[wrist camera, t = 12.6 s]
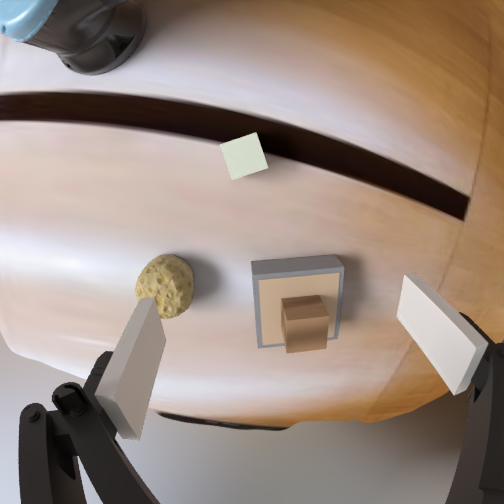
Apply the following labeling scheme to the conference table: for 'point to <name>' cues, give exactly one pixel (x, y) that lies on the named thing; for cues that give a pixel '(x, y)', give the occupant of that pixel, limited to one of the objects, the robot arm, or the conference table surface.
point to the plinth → (294, 292)
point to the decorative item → (167, 285)
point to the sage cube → (244, 156)
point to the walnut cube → (304, 323)
